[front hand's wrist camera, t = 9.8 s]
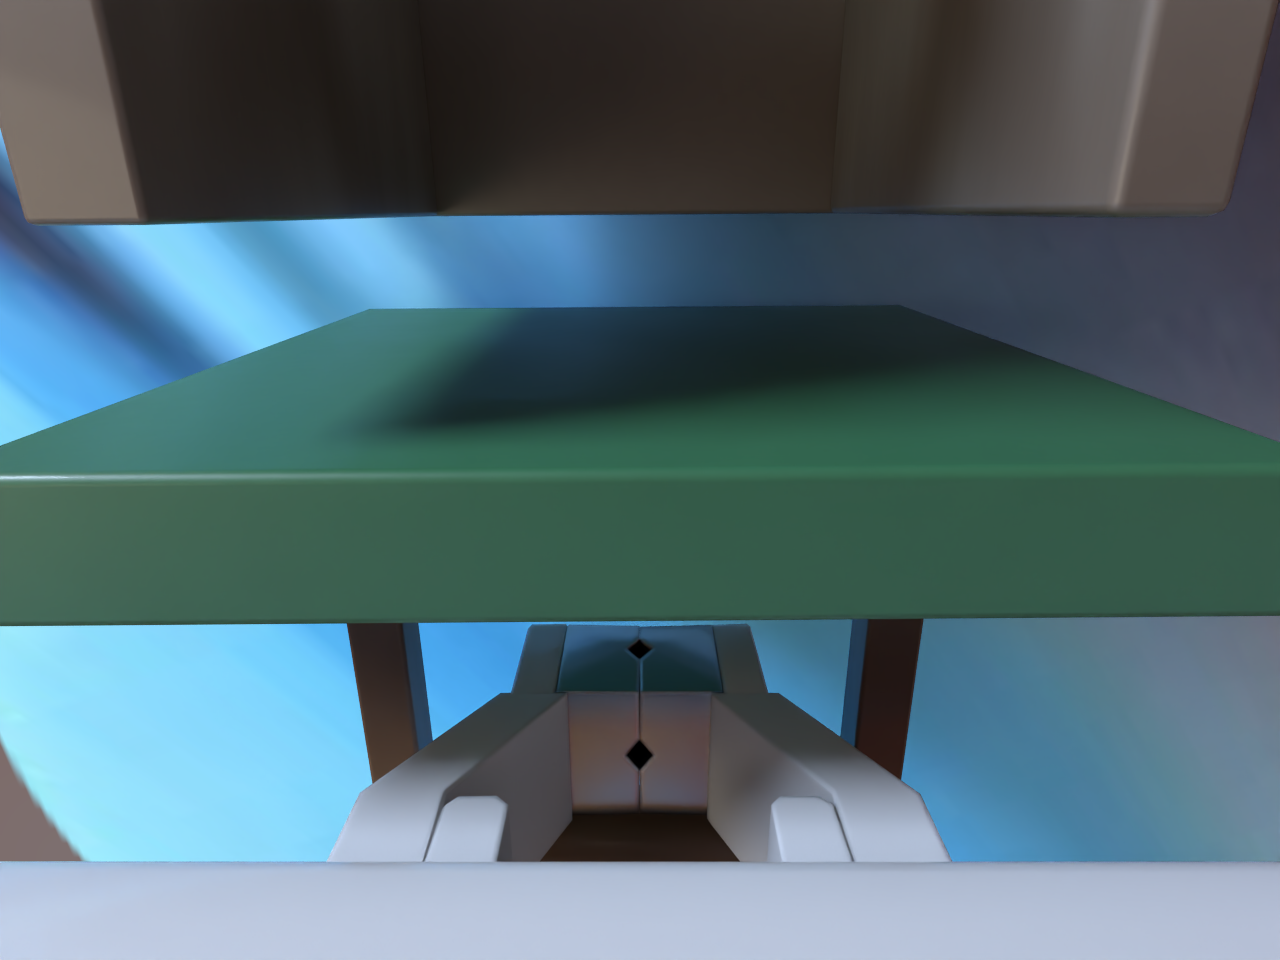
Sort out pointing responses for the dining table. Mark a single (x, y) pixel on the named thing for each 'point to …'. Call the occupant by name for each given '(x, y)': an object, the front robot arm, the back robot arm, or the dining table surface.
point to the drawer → (631, 335)
